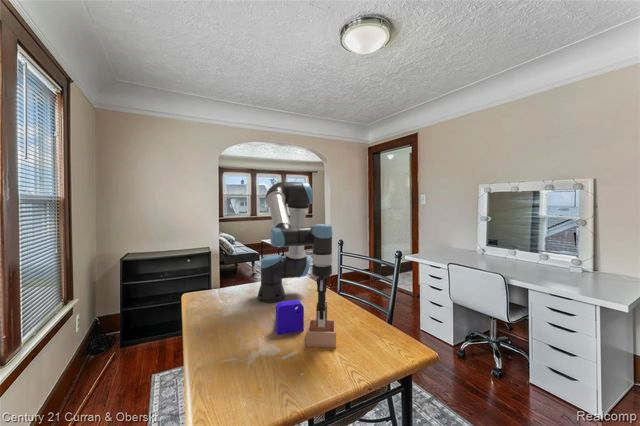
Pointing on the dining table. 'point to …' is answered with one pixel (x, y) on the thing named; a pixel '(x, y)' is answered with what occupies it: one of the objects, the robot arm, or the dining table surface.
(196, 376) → the dining table surface
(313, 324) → the planter
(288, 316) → the bracket
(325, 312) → the walnut post
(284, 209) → the robot arm
